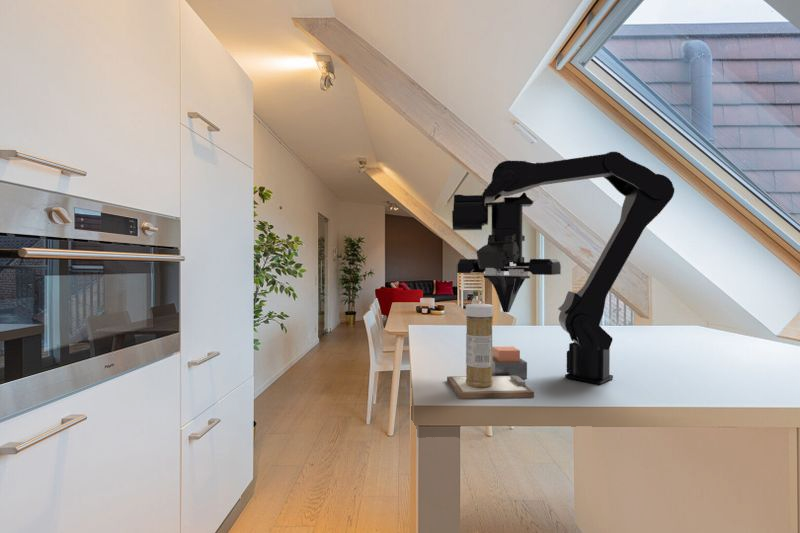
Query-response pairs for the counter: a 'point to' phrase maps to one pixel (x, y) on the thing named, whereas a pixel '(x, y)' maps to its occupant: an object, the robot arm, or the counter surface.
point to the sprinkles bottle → (479, 345)
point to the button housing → (510, 369)
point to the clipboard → (491, 388)
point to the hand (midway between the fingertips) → (506, 312)
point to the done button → (506, 354)
